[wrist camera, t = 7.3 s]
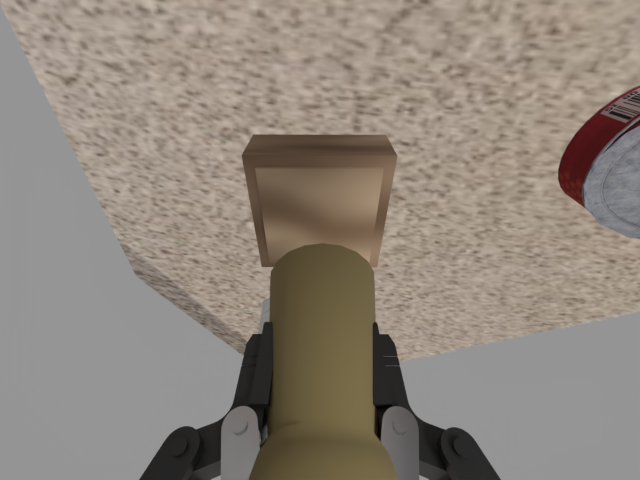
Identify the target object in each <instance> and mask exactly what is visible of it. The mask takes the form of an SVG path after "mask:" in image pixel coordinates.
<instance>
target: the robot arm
mask: <svg viewBox="0 0 640 480" xmlns="http://www.w3.org/2000/svg"><path fill="white" fill-rule="evenodd" d="M272 372H273V323H272V322H264V325H263V330H262V334H252V336H251V337H250V339H249V340H248V342H247V344H246V347H245V352H244V357H243V361H242V367H241V370H240V374H239V378H238V383H237V387H236V392H235V396H234V401H233V404H232V406H231V408H230V410H229V411H228V412H227V414H226V415H225V416H224V417H223V418H221V419H220V420H218V421H217V422H214V423H212V424H209V425H206V426H204V427H201V428H198V429H195V428H193V427H190V426H183V427H180V428H178V429H176V430H174V431H173V432H172V433H171V434H170V435H169V436H168V437H167V438H166V440H165V441H164V443H163V444H162V446H161V447H160V449H159V450H158V452H157V453H156V455H155V456H154V458H153V459H152V461H151V462H150V464H149V465H148V467H147V468H146V470H145V471H144V473H143V474H142V476H141V477H140V479H139V480H211V479H213V478H215V477H218V476H220V475H221V480H249V476H250V473H251V471H252V468H253V465H254V463H255V460H256V457H257V455H258V452H259V451H260V448H261V445H262V444H263V442H264V441H265V439H266V438H267V423H268V409H269V405H270V394H271V383H272ZM373 405H374V406H375V407H376V408H377V412H378V430H379V439H380V442H381V443H382V445H383V446H384V447H385V449H386V450H387V451H388V453H389V455H390V458H391V460H392V463H393V466H394V468H395V471H396V473H397V476H398V480H419V475H420V476H423V477H425V478H427V479H429V480H501V479H500V477H499V476H498V474H497V473H496V471H495V470H494V468H493V467H492V465H491V464H490V462H489V461H488V459H487V458H486V456H485V455H484V453H483V452H482V450H481V449H480V447H479V446H478V444H477V442H476V441H475V440H474V438H473V437H472V436H471V435H470V434H469V433H468V432H466V431H465V430H463V429H461V428H457V427H451V428H448V429H446V430H445V429H442V428H439V427H437V426H434V425H431V424H429V423H426V422H424V421H423V420H421V419H420V418H419V417H417V416H416V415H415V413H414V412H413V411H412V409H411V407H410V405H409V402H408V398H407V394H406V390H405V385H404V381H403V376H402V372H401V368H400V363H399V359H398V355H397V350H396V346H395V343H394V342H393V340H392V339H391V337H390V336H389V334H379V329H378V324H377V322H374V323H373Z"/></svg>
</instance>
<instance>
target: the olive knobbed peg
mask: <svg viewBox="0 0 640 480" xmlns="http://www.w3.org/2000/svg"><path fill="white" fill-rule="evenodd" d="M269 322H272V323H273V372H272V383H271V394H270V405H269V409H268V423H267V438H266V439H265V441H264V442H263V444H262V445H261V448H260V451H259V452H258V455H257V457H256V460H255V463H254V465H253V468H252V471H251V473H250V476H249V480H398V476H397V473H396V471H395V468H394V466H393V463H392V460H391V458H390V455H389V453H388V451H387V450H386V449H385V447H384V446H383V445H382V443H381V442H380V439H379V430H378V412H377V408H376V407H375V406H374V405H373V323H374V322H376V314H375V280H374V271H373V269H372V268H371V266H370V264H369V262H368V261H367V260H366V259H365V258H363V257H362V256H361V255H360V254H359V253H357V252H356V251H353V250H351V249H348V248H346V247H343V246H341V245H333V244H325V243H320V244H312V245H304V246H302V247H299V248H297V249H294V250H292V251H289V252H288V253H286V254H285V255H284V256H283V257H281V258H280V259H279V260H278V261H277V262H276V264H275V266H274V267H273V269H272V271H271V277H270V314H269Z"/></svg>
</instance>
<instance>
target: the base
mask: <svg viewBox="0 0 640 480" xmlns="http://www.w3.org/2000/svg"><path fill="white" fill-rule="evenodd" d="M242 161H243V166H244V172H245V177H246V183H247V189H248V194H249V200H250V205H251V211H252V216H253V222H254V227H255V233H256V238H257V244H258V249H259V255H260V260H261V266H262V267H274V266H275V264H276V262H277V261H278V260H279V259H280V258H281V257H283V256H284V255H285V254H286V253H288V252H289V251H292V250H294V249H297V248H299V247H302V246H304V245H312V244H320V243H325V244H333V245H341V246H343V247H346V248H348V249H351V250H353V251H356V252H357V253H359V254H360V255H361V256H362V257H363V258H365V259H366V260H367V261H368V262H369V264H370V266H371V267H377V266H378V260H379V255H380V249H381V243H382V238H383V232H384V227H385V221H386V216H387V210H388V205H389V199H390V194H391V188H392V183H393V177H394V172H395V166H396V161H397V154H396V152H395V150H394V148H393V147H392V145H391V143H390V141H389V139H388V137H387V136H386V135H274V134H253V136H252V137H251V139H250V141H249V143H248V145H247V146H246V148H245V150H244V152H243V154H242Z"/></svg>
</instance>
